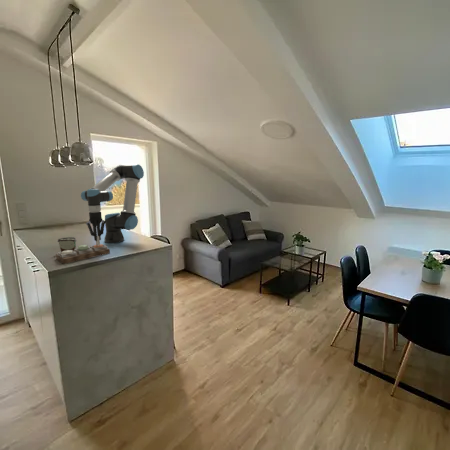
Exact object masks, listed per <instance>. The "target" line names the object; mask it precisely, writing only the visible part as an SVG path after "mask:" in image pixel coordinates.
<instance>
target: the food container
mask: <svg viewBox="0 0 450 450" xmlns="http://www.w3.org/2000/svg"><path fill="white" fill-rule="evenodd" d="M76 242H77V239H76V237H75V236H71V237H69V236H68V237H61V238H58V239H57V243H58V245H59V250H60V252H62V251H66V250H73V251H74V249H77V248H76Z"/></svg>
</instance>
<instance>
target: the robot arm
mask: <svg viewBox="0 0 450 450" xmlns="http://www.w3.org/2000/svg"><path fill="white" fill-rule="evenodd" d="M144 173H145V172H144V168H143V166H141V164H140V163H139V164H138V163H123V164H120V165H117V166H116V167H113V169H111V170H110V171H109V173H108V174H107V175H105V177H103V178H102V179H100V181H98V182H97V183H96V184H95V185H93V186H92V187H91V188H88V189H87V190H82V192H80V197H81V200H83V201H85V202H87V205H88V206H87V208H88V212H89V213H88V217H89V220H88V221H87V222H85V225H86V226H87V228H88V231H89V233H90V236H92V237H93V238H94V240H93V241H95V245H100V244H101V243H100V241H101V240H102V238H101V236H102V235H104V231H105V235H104V238H103V239H104V243H107V244H115V243H121V242H123V240H124V241H125V237H124V234H123V232H122V230H127V231H128V230H135V229H136V227H137V226H138V224H139V223H138V222H139V218H138V217H137V213H136V212H135V208H136V198H137V191H138V183H140V182H141V179H143V178H144ZM122 179H124V181H126V182H125V183H126V184H125V190H124V192H125V193H124V200H123V206H122V210H121V211H120V212H114V213H113V212H112V213H106V214H105V215H104V219H103V218H102V212H101V211H102V206H101V203H103V202H104V203H106V202H111V201H112V200H114V195H113V194H114V193H113V192H112V191H110V190H107V189H109V188H110V187H111V186H113V184H114V183H116V182H119V181H120V180H122ZM91 225H92V226H91Z"/></svg>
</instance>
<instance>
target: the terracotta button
mask: <svg viewBox="0 0 450 450" xmlns="http://www.w3.org/2000/svg"><path fill="white" fill-rule="evenodd" d="M103 245H104V244H103V243H100V245H96V244H94V245H93V246H94V248H98V247H103Z"/></svg>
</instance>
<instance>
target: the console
mask: <svg viewBox="0 0 450 450" xmlns="http://www.w3.org/2000/svg"><path fill="white" fill-rule="evenodd" d="M110 250H111V249H110V248H109V247H108V246H107V245H105V244H103V247H98V248H94V245H90V246H88V250H84V251H79V250H78V248H76V249H74V251H73V250H72V253H69V254H64V255H63V254H62V252H61V251H58V252H57V254H55V259H56V260H57V261H59V262H60V263H62V264H64V265H65V264H68V263H73V262H77V261H83V260H87V259H91V258H94V257H99V256H103V255H108V254H109V255H110V253H111V251H110Z"/></svg>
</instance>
